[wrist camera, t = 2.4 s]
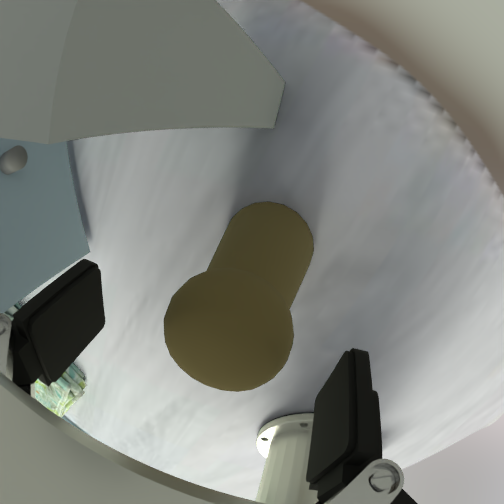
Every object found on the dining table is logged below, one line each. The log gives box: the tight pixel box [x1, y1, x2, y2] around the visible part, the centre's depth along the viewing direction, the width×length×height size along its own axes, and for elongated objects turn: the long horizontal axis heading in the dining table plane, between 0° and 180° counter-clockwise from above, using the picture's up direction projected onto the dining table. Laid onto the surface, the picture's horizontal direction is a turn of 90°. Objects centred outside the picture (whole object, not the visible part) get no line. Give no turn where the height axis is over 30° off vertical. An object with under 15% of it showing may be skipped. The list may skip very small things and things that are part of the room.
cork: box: [164, 202, 314, 392], centre depth 15 cm, size 6×6×11 cm
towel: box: [3, 302, 87, 417], centre depth 34 cm, size 18×21×5 cm
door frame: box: [0, 0, 285, 144], centre depth 10 cm, size 20×3×16 cm, turn 77°
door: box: [0, 138, 90, 313], centre depth 15 cm, size 13×3×11 cm, turn 7°
